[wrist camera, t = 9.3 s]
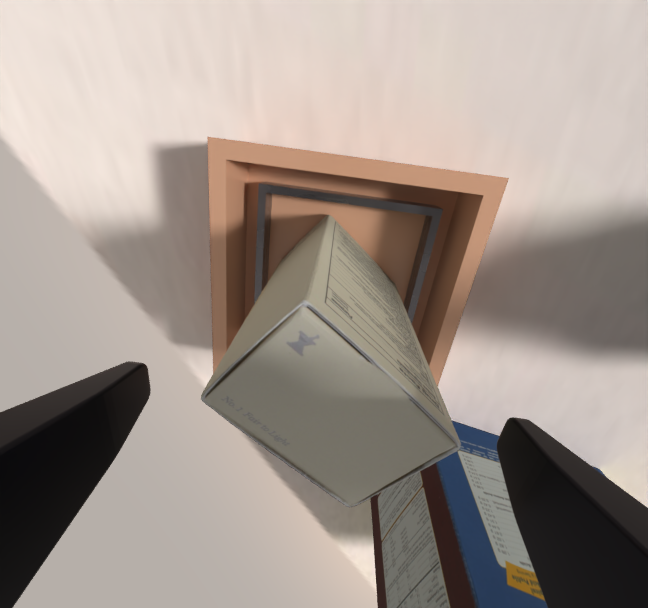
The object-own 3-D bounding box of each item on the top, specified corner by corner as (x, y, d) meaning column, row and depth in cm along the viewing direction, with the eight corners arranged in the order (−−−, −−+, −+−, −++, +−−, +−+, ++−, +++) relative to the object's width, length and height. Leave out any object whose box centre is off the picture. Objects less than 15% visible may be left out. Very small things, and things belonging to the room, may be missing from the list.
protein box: (525, 540, 30) (685, 889, 15) (368, 492, 29) (384, 820, 14) (603, 466, 25) (923, 859, 11) (420, 407, 24) (517, 756, 10)
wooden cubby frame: (475, 173, 17) (508, 178, 14) (416, 370, 23) (428, 411, 19) (237, 141, 18) (207, 136, 14) (235, 343, 23) (213, 378, 19)
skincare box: (278, 261, 20) (184, 396, 9) (331, 209, 18) (299, 290, 7) (349, 329, 21) (346, 516, 10) (403, 286, 20) (468, 451, 9)
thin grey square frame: (436, 205, 18) (443, 209, 16) (397, 350, 22) (401, 363, 20) (265, 181, 18) (258, 183, 16) (258, 329, 22) (252, 341, 20)
